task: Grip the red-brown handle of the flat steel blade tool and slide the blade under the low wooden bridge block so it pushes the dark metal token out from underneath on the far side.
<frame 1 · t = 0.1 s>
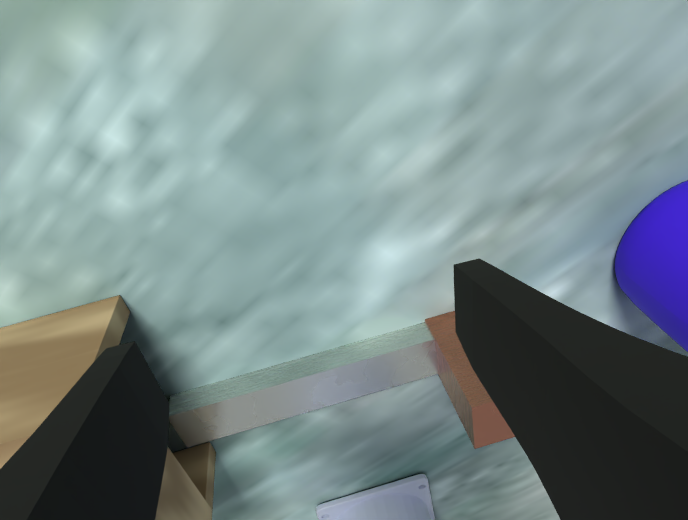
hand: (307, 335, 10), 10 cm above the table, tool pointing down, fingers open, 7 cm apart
blade tool: (453, 332, 25), on the table
wooden bridge block: (98, 406, 23), on the table
bottle: (675, 238, 25), on the table
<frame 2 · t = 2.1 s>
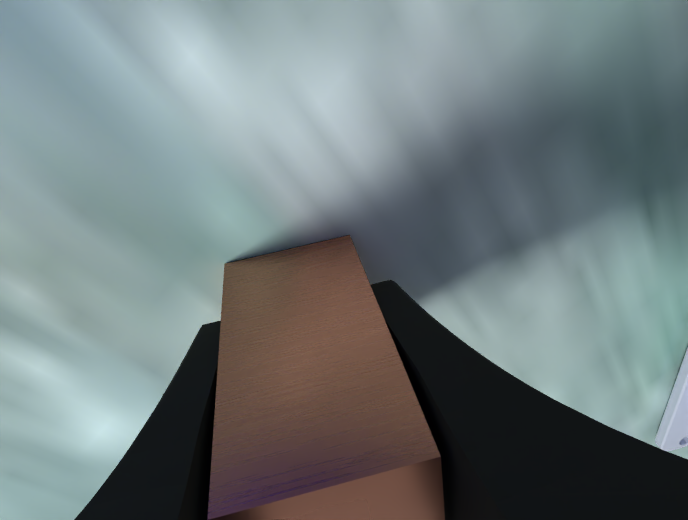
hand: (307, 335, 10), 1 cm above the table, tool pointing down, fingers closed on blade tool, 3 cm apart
blade tool: (300, 298, 12), on the table, touching gripper
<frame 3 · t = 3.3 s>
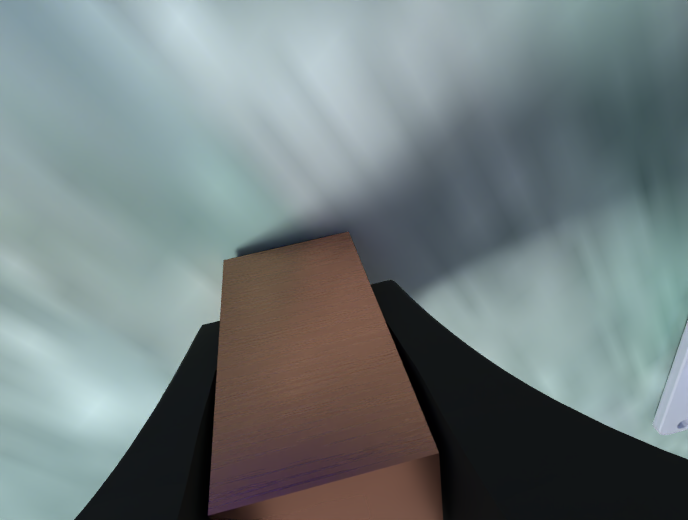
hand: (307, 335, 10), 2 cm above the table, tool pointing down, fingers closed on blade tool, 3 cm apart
blade tool: (299, 295, 12), on the table, touching gripper
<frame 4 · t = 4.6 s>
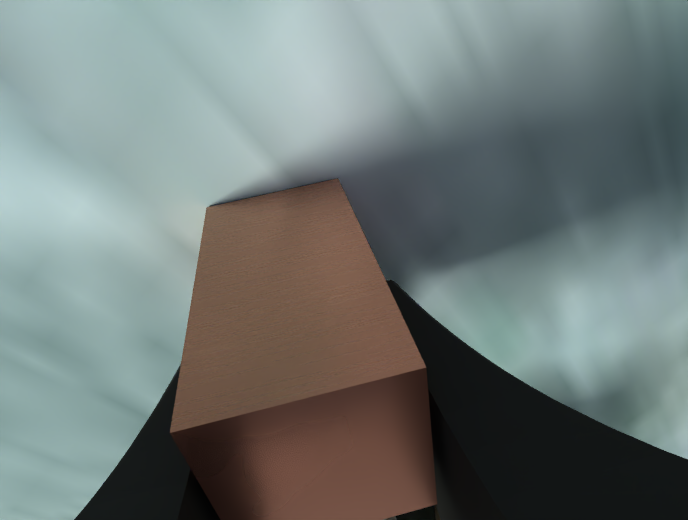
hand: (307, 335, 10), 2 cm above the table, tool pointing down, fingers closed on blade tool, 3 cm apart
blade tool: (287, 248, 11), on the table, touching gripper
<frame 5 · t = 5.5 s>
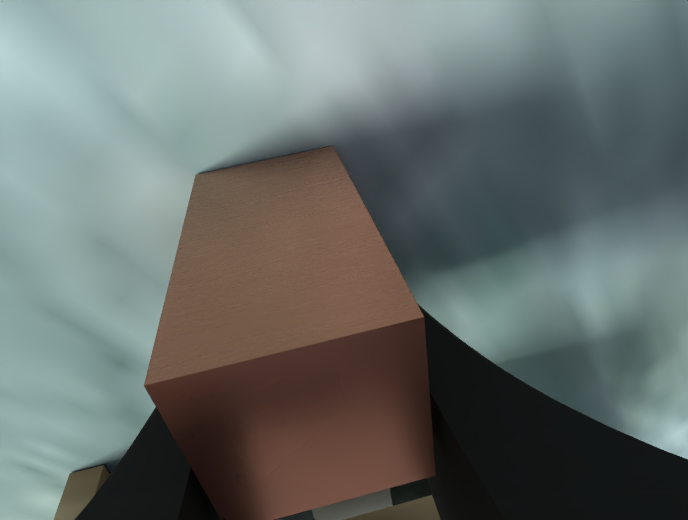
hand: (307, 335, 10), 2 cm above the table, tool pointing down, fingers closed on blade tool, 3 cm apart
blade tool: (280, 220, 11), on the table, touching gripper
wooden bridge block: (294, 493, 16), on the table
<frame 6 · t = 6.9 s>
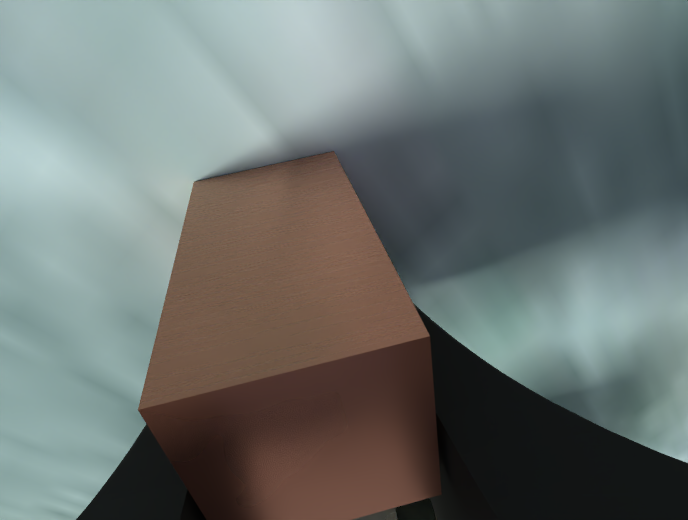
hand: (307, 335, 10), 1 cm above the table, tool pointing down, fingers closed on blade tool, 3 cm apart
blade tool: (281, 227, 10), on the table, touching gripper
when the fingers open (1 cm above the table, at t = 7.1 s): blade tool stays where it is, on the table.
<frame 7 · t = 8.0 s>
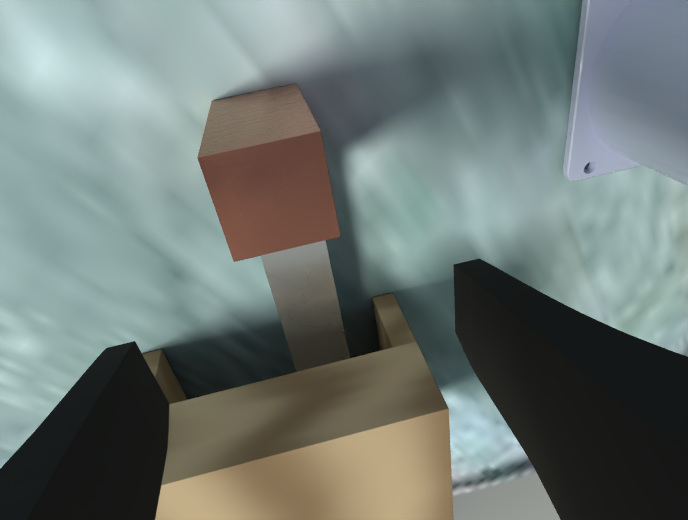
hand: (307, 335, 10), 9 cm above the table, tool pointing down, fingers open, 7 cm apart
blade tool: (265, 134, 17), on the table
wooden bridge block: (287, 381, 23), on the table
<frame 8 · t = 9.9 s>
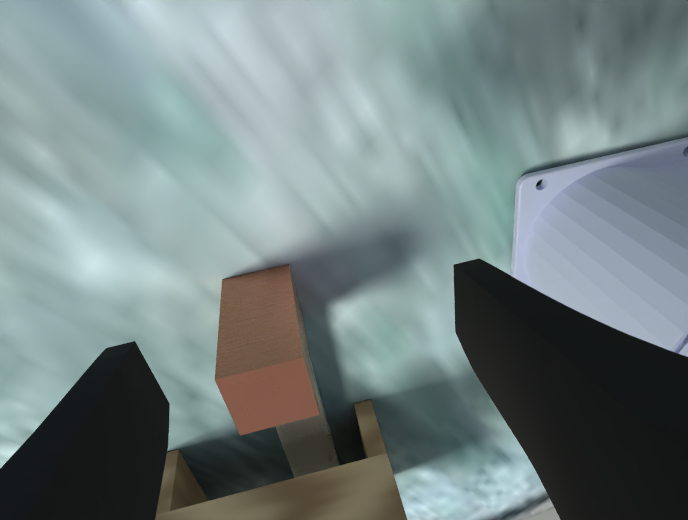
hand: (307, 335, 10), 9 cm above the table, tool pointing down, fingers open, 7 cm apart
blade tool: (264, 298, 21), on the table
wooden bridge block: (283, 467, 28), on the table
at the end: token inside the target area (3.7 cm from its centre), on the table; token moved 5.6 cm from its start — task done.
